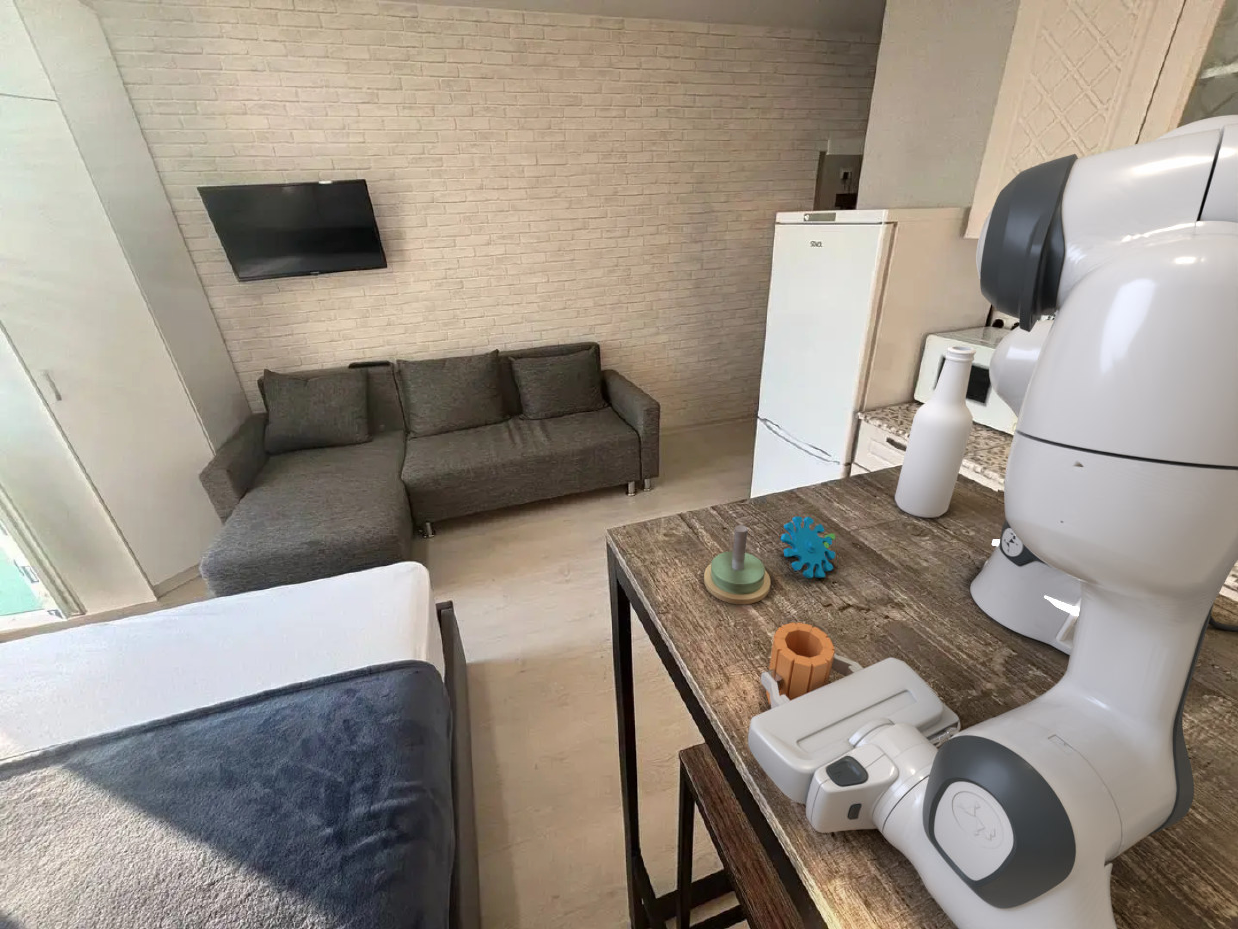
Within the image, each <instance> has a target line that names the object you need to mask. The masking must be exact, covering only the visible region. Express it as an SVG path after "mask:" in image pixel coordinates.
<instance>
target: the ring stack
mask: <svg viewBox="0 0 1238 929" xmlns="http://www.w3.org/2000/svg"><path fill="white" fill-rule="evenodd" d="M733 532H734V534H733V544H732V545H733V546H732V550H729V551H724V552H721V553H719V554H717V555H716V556H714V558H713V559H712V560H711V562H710V563H709V564H708V565H707V567H705V570H704V572H703V583H704V585H705V588H706V590H707V591H708V593H709V594H711V595H712V596H713V597H714V598H716V599H718V600H720V601H723V602H726V603H728V604H733V605H751V604H755V603H758V602H760V601H761V600H763V599H765V598H766V597H767V595H768V594H769V593H770V590H771V577H770V574H769V573H768V572H767V570H766V568H765V565H764V563H763V562H762V560H760V559H759V558H758V557H757V556H755V555H754V554H751V553H748V552H746V550H747V549H746V548H747V538H748V527H747V526H746V525H744V524H738V525H735V526H734V531H733Z"/></svg>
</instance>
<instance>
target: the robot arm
mask: <svg viewBox="0 0 1238 929" xmlns="http://www.w3.org/2000/svg"><path fill="white" fill-rule="evenodd" d="M975 252H976V253H975V262H976V264H975V265H976V271H977V275H978V279H979V285H980V292H981V295H982V296H983V297H984V298H985V299H986V301H987V302H988V303H989V304H990V305H991V306H992V307H993V308H994V309H995V310H996V311H997V312H1000V313H1002V314H1004V315H1006V316H1009V317H1012V318H1015V319H1017V320H1018V321H1019V322H1018V323H1019V324H1018V326H1016V327H1015V328H1014V329H1012V330H1010V331H1009V332H1008V333H1007V334H1006V335H1005V336H1003V338H1002V339H1001V340H1000V341H999V343H998V344H997V346H996V347H995V349H994V350H993V353H992V354H991V358H990V360H989V366H988V367H989V368H988V376H989V380H990V381H989V382H990V385H991V386H992V388H993V391H994V392H995V394H996V395H997V396H998V397H999V398H1000V399H1001V400H1002V401H1003V402H1004V403H1005V404H1006V405H1007V407H1009V408H1010V410H1011V411H1012V412H1013V414H1014V415H1015V416H1016V418H1017V420H1016V424H1015V429H1014V432H1013V436H1012V440H1011V444H1010V447H1009V452H1008V456H1007V460H1006V467H1005V472H1004V483H1003V501H1004V502H1003V504H1004V505H1003V506H1004V516H1005V519H1004V521H1003V523H1002V527H1001V532H1000V538H999V539H992V543H991V545H992V546H995V547H994V549H993V551H992V553H991V555H990V556H989V558H988V559H987V560H986V561H985V562H984V564H983V566H982V569H981V571H980V572H979V573H978V575H976V577H975V578H974V579H973V580H972V581H971V583H970V588H969V590H970V595H971V597H972V599H973V601H974V602H975V603H976V605H978V607H979V609H981V610H982V611H983V612H984V613H985V614H986V615H987V616H989V617H990V619H993V620H994V621H996V622H997V623H999V624H1000V625H1002V626H1004V627H1006V628H1008V629H1009V630H1011V631H1013V632H1015V633H1018V634H1020V635H1022V636H1025V637H1027V638H1031V639H1033V640H1037V641H1038V642H1039V641H1040V642H1042V643H1045V644H1048V645H1049V646H1051V647H1053V648H1055V649H1057V650H1058V651H1061V652H1063V653H1064V654H1066V655H1068V656H1069V658H1068V664H1067V667H1066V670H1065V672H1064V674H1063V676H1062V677H1061V678H1060V680H1059V681H1058V682H1057V683H1056V684H1055V685H1053V686H1052V687H1051V688H1050V689H1048V690H1046V691H1045V692H1043V693H1042V694H1040V695H1039V696H1037V697H1036V698H1034V699H1033V700H1031V701H1029V702H1026V703H1025V704H1021V705H1020V706H1017V707H1016V708H1013V709H1011V710H1008V711H1006V712H1004V713H1002V714H999V715H997V716H995V717H990V718H988V719H986V720H984V721H980V722H979V723H976V724H974V725H972V726H969V727H968V728H965V729H962V730H961V728H962V726H961V724H962V723H961V721H960V718H959V716H958V715H957V714H956V712H954V711H953V710H952V709H951V708H950V707H949V706H947V705H946V704H945V703H944V702H943V701H942V700H941V699H940V697H939V696H938V695H937V694H936V692H935V691H934V690H933V689H932V687H931V686H929V684H928V683H927V682H926V681H925V680H924V679H923V678H922V677H921V676H920V675H919V674H918V673H917V672H916V671H915V670H914V668H912V667H911V666H910V665H908V663H906V662H905V661H903V660H901V659H898V658H895V657H892V656H890V657H887V658H885V659H881V660H880V661H878V662H875V663H874V664H871V665H868V666H866V667H863V666H862V665H861V664H859V663H858V662H857V661H854V660H852V659H849V658H846V657H844V656H841V655H838V654H837V653H836V652H835V654H834V659H833V663H832V668H831V670H832V671H835V672H836V673H838V674H841V675H842V676H843V677H842V678H839V679H836V680H834V681H832V682H830V683H828V684H827V685H825V686H823V687H820V688H818V689H816V690H814V691H811V692H809V693H807V694H804V695H802V696H800V697H798V698H795V699H793V700H791V701H790V700H789V699H788V697H787V696H786V695H784V694H783V695H781V697H780V695H779V691H780V690H781V684H782V678H781V676H780V675H779V674H777V673H776V671H775V670H774V669H771V670H767V671H766V670H765V671H764V672H762V673H761V674H760V675H761V676H760V682H761V685H762V686H763V688H764V689H765V690H767V691H768V692H769V694H770V695H769V696H770V703H771V705H770V708H769V709H768V710H766V711H763V712H761V713H759V714H756V715H754V716H752V717H751V719H750V722H749V725H748V726H749V727H748V731H747V732H748V734H747V746H748V749H749V751H750V753H751V754H752V757H753V758H754V759H755V760H756V762H757V763H758V764H759V766H760V768H762V770H763V771H764V772H765V774H766V775H767V776H768V777H769V778H770V781H772V782H773V784H774V785H775V786H776V787H777V788H778V790H780V791H781V793H782V794H783V795H784V796H786V797H787V798H788V799H790V800H791V801H793V802H795V803H798V804H801V805H805V816H806V819H807V821H808V822H809V824H810V825H811V827H812V828H813V829H814V830H815V831H816V832H818V833H823V834H826V833H835V832H845V831H855V830H878V832H880V834H881V835H882V836H883V837H884V839H886V841H887V842H888V843H889V844H890V845H891V846H893V847H894V848H895V849H896V850H898V851H899V853H901V854H902V855H903V856H904V857H905V858H906V859H907V860H908V861H909V862H910V863H911V865H912V866H913V867H914V869H915V870H916V872H917V873H918V875H919V878H920V879H921V881H922V883H923V885H924V888H926V890H927V892H928V894H930V896H931V897H932V898H933V900H935V902H936V903H937V905H938V906H939V907H940V908H941V910H942V911H943V912H944V913H945V914H946V916H947V917H948V918H949V919H950V921H951V922H952V923H953V924H954V926H956V928H957V929H1118V926H1117V923H1116V920H1115V915H1114V911H1113V906H1112V905H1113V904H1112V898H1111V876H1112V871H1113V870H1112V869H1113V865H1114V864H1113V863H1112V860H1114V859H1115V858H1117V857H1118V856H1120V855H1121V854H1123V853H1124V852H1126V851H1127V850H1128V849H1130V848H1132V847H1133V846H1134V845H1136V844H1137V843H1138V842H1141V840H1143V839H1144V838H1147V837H1150V836H1151V835H1154V834H1157V833H1158V832H1160V831H1161V832H1162V831H1163V830H1165V829H1167V828H1170V827H1171V826H1174V825H1175V824H1177V823H1179V822H1181V821H1182V820H1183V819H1184V818H1185V816H1186V815H1187V814H1188V813H1189V811H1190V809H1191V807H1192V804H1193V801H1194V796H1195V795H1194V794H1195V783H1194V775H1193V769H1192V764H1191V760H1190V757H1189V753H1188V748H1187V744H1186V740H1185V735H1184V726H1183V719H1184V718H1183V716H1184V710H1185V705H1186V701H1187V698H1188V693H1189V691H1190V686H1191V683H1192V680H1193V677H1194V673H1195V670H1196V666H1197V663H1198V659H1199V657H1200V654H1201V650H1202V647H1203V644H1204V640H1205V636H1206V632H1207V630H1208V626H1209V625H1210V626H1211V627H1213V628H1215V629H1219V630H1221V631H1227V632H1233V633H1234V632H1235V633H1236V632H1237V633H1238V625H1231V624H1225V623H1221V622H1218V621H1216V620H1215V619H1214V617H1213V616H1212V612H1213V608H1214V605H1215V601H1216V599H1217V598H1218V596H1219V594H1220V592H1221V590H1222V588H1223V587H1224V584H1225V582H1227V578H1228V577H1229V575H1230V573H1231V571H1232V570H1233V568H1234V567H1235V565H1236V563H1237V562H1238V114H1227V115H1218V116H1212V117H1207V118H1203V119H1199V120H1196V121H1192V122H1190V123H1187V124H1183V125H1181V126H1179V127H1177V128H1174V129H1172V130H1170V131H1167V132H1166V133H1164V134H1162V135H1161V136H1159V137H1157V138H1155V139H1153V140H1148V141H1144V142H1139V143H1135V144H1131V145H1128V146H1122V147H1119V148H1118V147H1117V148H1114V149H1110V150H1106V151H1102V152H1098V153H1095V154H1091V155H1087V156H1083V157H1080V158H1079V157H1078V156H1077V154H1076V153H1073V154H1069V155H1065V156H1062V157H1059V158H1054V159H1052V160H1047V161H1045V162H1043V163H1040V164H1037V165H1034V166H1031V167H1029V168H1026V169H1024V170H1021V171H1020V172H1019V173H1017V175H1015V177H1013V178H1012V180H1010V181H1009V182H1008V183H1007V184H1006V185H1005V186H1004V187H1003V188H1002V189H1001V190H1000V192H999V194H998V195H997V197H996V199H995V202H994V205H993V206H992V207H991V210H990V211H989V213H988V215H987V217H986V218H985V221H984V222H983V225H982V227H981V230H980V233H979V235H978V240H977V246H976V251H975ZM1052 315H1056V316H1055V318H1054V319H1051V320H1050V319H1048V320H1039V319H1040V318H1041V316H1044V317H1046V316H1047V317H1048V316H1052Z"/></svg>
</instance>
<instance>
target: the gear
mask: <svg viewBox="0 0 1238 929" xmlns="http://www.w3.org/2000/svg"><path fill="white" fill-rule="evenodd" d="M814 522H815V521H814V519H813V518H812V517H810V516H806V517H802V516H794V517H792V520H791V521H789V522H787V523H785V524H784V525H783V529H785V531H786V532H784V533H783V534H781V537H780V542H782V543H783V544H786V545H789V546H790V547H787V548H784V549H783V555H784V557H785V558H791V557H795V558H798V560H796V561H793V562H792V563H791V568H792V569H793V570H794V571H795V572H797V571H800V570H802V568H803V566H804V565H806V566H807V569H805V570H803V572H802V576H803V577H805V578H806V579H808V580H809V579H812V578H813V577H815V578H816V579H822V578H825V577H826V572H830V571H832V570H833V569H834V566H833V564H832V563H831V562H830V561H832V560H835V558H836V552H835V551H834V550H830V549H829V548H830V546H831V545H833V540H835V539H836V534H835V533H833V532H832V533H829V534H826V535H824V537H821V536H820V535H819V534H821V533H824V532H825V528H824V526H823V524H822V523H820V524H817V525H815V526H814V528H813V530H812V529H811V528H810V526H811V525H812V524H814ZM802 523H803V527H802ZM814 568H815V571H814Z"/></svg>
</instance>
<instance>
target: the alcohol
mask: <svg viewBox="0 0 1238 929" xmlns="http://www.w3.org/2000/svg"><path fill="white" fill-rule="evenodd" d="M946 351H947V353H946V354H945V360H944V363H943V366H942V368H941V372H940V375H939V377H938V381H937V384H936V386H935V389H934V391H933V394H932V396H931V397H930V399H929V400H928V401H926V402H925V403H923V404H922V405H920V407H919V408H918V409H917V411H916V412H915V414H914V416H913V420H912V423H911V428H910V431H909V435H908V439H907V444H906V448H905V453H904V457H903V461H902V465H901V468H900V473H899V477H898V482H897V486H896V491H895V494H894V501H895V503H896V505H897V507H898V508H899V509H900V510H902V511H903V512H905V513H907V514H908V515H912V516H915V517H919V518H926V519H932V518H938V517H941V516H942V515H943V514H945V513H946V512H947V511H948V510H949V508H950V504H951V500H952V496H953V493H954V490H955V486H956V483H957V481H958V476H959V474H960V470H961V467H962V463H963V460H964V456H965V453H966V449H967V448H968V442H969V439H970V437H971V433H972V430H973V426H974V425H973V424H974V423H973V422H974V420H973V414H972V412H971V410H970V409H969V407H968V406H967V401H966V397H967V394H968V393H967V392H968V387H969V382H970V377H971V376H970V375H971V371H972V366H973V362H974V361H975V355H976V353H977V350H976V349H975V348H973V347H971V346H965V345H952V346H949V347H947V348H946Z"/></svg>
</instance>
